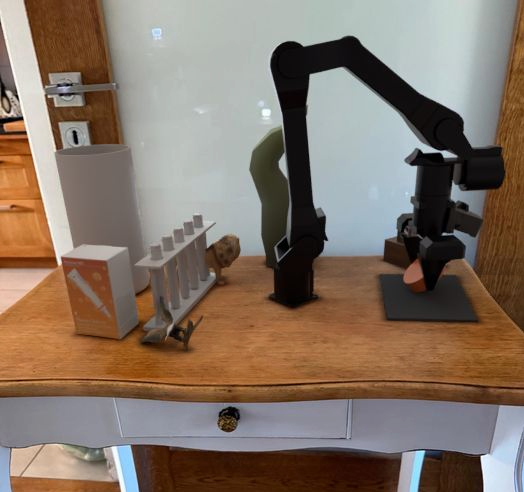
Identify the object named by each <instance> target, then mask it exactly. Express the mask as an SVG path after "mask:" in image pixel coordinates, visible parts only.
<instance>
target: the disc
mask: <svg viewBox="0 0 524 492" xmlns="http://www.w3.org/2000/svg"><path fill="white" fill-rule="evenodd" d="M445 270H446V266H445V267H444V268H443V270H442V272H441V275H440V277H439V279H440V278H441V276H442V275H444V273H445ZM439 279H438V280H439ZM403 280H404V282H405V283H406V284H407V285H408V286H409V287H410V288H411V289H412V290H413V291H414V292H421V291H424V290H426V287H425V283H424V279H423V275H422V271H421V267H420V264H419V260H418V259H416V260H415V261H414V262H413V263H412V264H411V265H410V266H409V267H408V269H406V270H405V272H404V277H403Z"/></svg>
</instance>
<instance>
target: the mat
mask: <svg viewBox="0 0 524 492" xmlns="http://www.w3.org/2000/svg"><path fill="white" fill-rule="evenodd" d="M404 274H405V273H404ZM404 274H403V273H380V274H379V279H380V285H381V292H382V299H383V305H384V312H385V318H386V321H405V322H406V321H407V322H408V321H410V322H411V321H412V322H413V321H415V322H451V323H452V322H453V323H454V322H457V323H460V322H461V323H479V319H478V316H477V314H476V312H475V310H474V308H473V307H472V305H471V303H470V300H469V298H468V296H467V295H466V293H465V291H464V288H463V287H462V284H461V283H460V281H459V278H458V277H457V275H456V274H443V275H442V276H441V278H440V279H439V280H438V281H437V283H436V285H435V287H434V290H432V291H427V290H424V291H421V292H414V291H413V290H412V289H411V288H410V287H409V286H408V285H407V284H406V283H405V282H404V280H403V277H404Z"/></svg>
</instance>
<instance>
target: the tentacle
mask: <svg viewBox="0 0 524 492" xmlns="http://www.w3.org/2000/svg"><path fill="white" fill-rule="evenodd" d="M308 107H309V105H308V104H306V117H307V116H308ZM284 155H285V151H284V141H283V131H282V124H280V125H278V126H276V127H273V128H271V129H269V130H268V132H267V133H266V134H265V135H264V136H263V137H262V138H261V139H260V140H259V142H258V143H257V144H256V145H255V146H254V147H253V148H252V151H251V157H250V162H249V168H248V171H249V173H250V176H251V178H252V181H253V183H254V184H253V185H254V187H255V189H256V193H257V196H258V198H259V202H260V204H261V205H260V208H261V211H260V212H261V214H260V215H261V217H260V221H261V222H260V237H261V242H262V246H263V249H264V255H265V266H266V267H273V268H274V266H276V265H277V258H276V253H275V246H276V245H277V244H278V243H279V242H280V241H281V240H282V239H283V238H284V237H285V236H286V231H287V217H288V210H289V201H290V199H289V190H288V180H287V176H285V173H284V172H283V171H282V169H281V168H280V160H282V158H283V156H284Z"/></svg>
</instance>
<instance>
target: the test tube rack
mask: <svg viewBox="0 0 524 492" xmlns="http://www.w3.org/2000/svg"><path fill="white" fill-rule="evenodd" d="M203 218H204V216H203V214H202V213H201V212H196V213H193V214H192V219H184V220H183V223H182V226H175V227H173V228H172V230H173V231H172V233H173V235H172V234H163V235H162V236H161V238H162V239H161V242H162V244H161V243H160V242H153V243H150V244H149V250H150V253H148V254H146V257H144V258H143V259H142V260H140V261H139V262H138V263H136V264H135V265H134V268H148V274H149V281H150V286H151V287H150V288H151V293H152V301H153V307H154V308H153V309H154V315H153V316H152V317H151V318H150V319H149V320H148V321H147V322H146V323H145V324H144V325H143V326H142V331H143V332H148V333H149V332H150V331H151V330H153V329H160V328H164V327H165V326H166V323H165V321H164V320H163V318H162V316H161V314H160V300H159V299H160V296H162V297H163V298H164V304H165V308H166V309H168V310H169V311H170V313H171V315H172V317H173V322H174V324H176V325H177V326H178V324H179V323H180V322H181V321H182V320H183V319H184V318H185V317H186V316H187V314H189V312H191V310H192V309H193V308H194V307H195V306H196V305H197V304H198V302H199V301H200V300H201V299H202V298H203V297H204V296H205V295H206V294H207V293H208V292H209V290H210V289H212V287H213V286H214V285H215V284H216V283H217V281H216V276H215V272H211V270H210V268H207V267H206V263H205V249H206V248H208V242H207V231H209V230H210V229H211V228H212V227H214V226H215V225H216V224H217V221H216V220H203ZM185 248H186V250H185ZM186 253H187V260H186ZM196 255H197V257H196ZM175 257H176V260H177V267H176V262H175ZM187 263H188V269H187ZM197 265H198V267H197ZM177 269H178V277H179V278H178V277H177ZM166 281H167V282H166ZM189 281H190V282H189Z"/></svg>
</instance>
